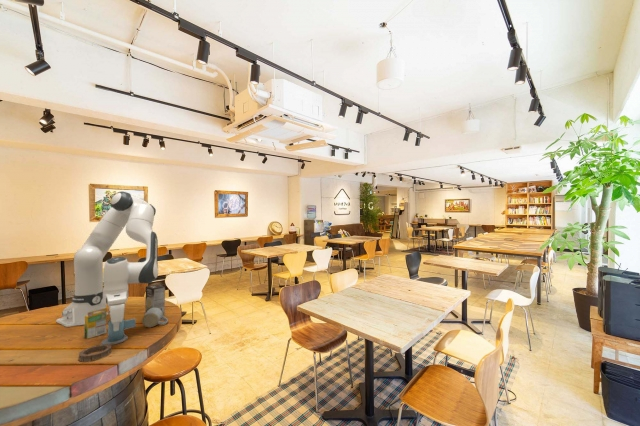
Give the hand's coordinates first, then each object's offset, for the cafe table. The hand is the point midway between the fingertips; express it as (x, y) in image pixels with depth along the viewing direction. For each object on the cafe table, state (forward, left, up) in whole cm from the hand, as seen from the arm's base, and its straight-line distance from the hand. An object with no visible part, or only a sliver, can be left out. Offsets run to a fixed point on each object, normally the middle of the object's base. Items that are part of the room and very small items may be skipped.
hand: (115, 327), depth 115 cm
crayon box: (-14, +1, -6) cm, 15 cm away
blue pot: (+1, +2, -5) cm, 6 cm away
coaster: (0, 0, -6) cm, 6 cm away
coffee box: (-11, +28, -6) cm, 31 cm away
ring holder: (+6, -11, -6) cm, 14 cm away
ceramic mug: (0, +19, -6) cm, 20 cm away
